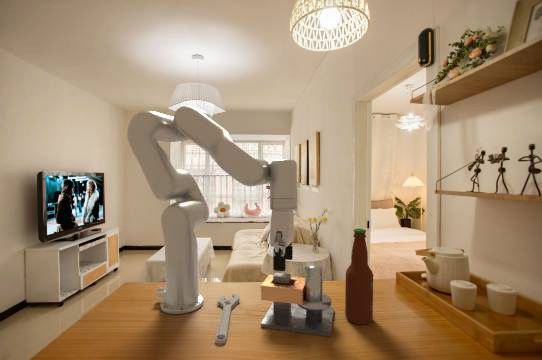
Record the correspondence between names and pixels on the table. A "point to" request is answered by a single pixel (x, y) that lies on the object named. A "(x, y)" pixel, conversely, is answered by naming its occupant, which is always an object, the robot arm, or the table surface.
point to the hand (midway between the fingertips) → (283, 264)
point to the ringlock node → (300, 303)
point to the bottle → (359, 283)
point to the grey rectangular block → (281, 307)
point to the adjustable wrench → (225, 316)
